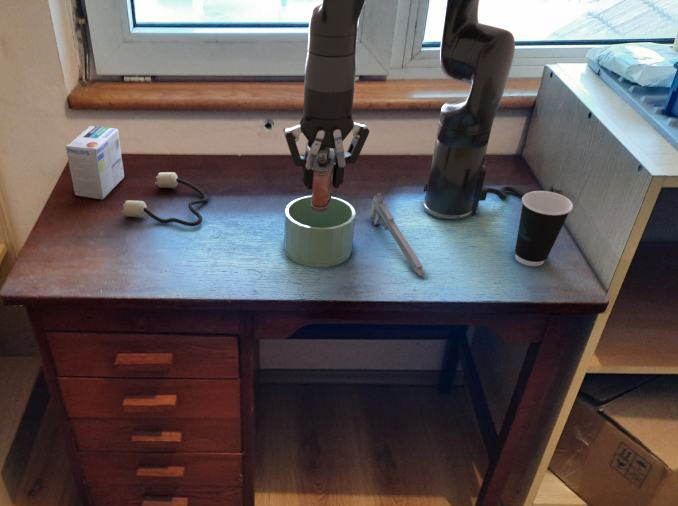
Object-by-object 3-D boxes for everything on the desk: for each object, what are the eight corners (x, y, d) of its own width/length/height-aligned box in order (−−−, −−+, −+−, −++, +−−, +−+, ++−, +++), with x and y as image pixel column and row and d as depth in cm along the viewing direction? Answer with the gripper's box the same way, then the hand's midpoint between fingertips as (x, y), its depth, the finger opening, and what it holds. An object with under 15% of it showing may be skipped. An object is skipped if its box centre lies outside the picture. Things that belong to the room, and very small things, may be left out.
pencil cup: (342, 229, 123) (346, 193, 118) (358, 264, 114) (363, 226, 109) (279, 234, 122) (280, 197, 117) (290, 269, 112) (291, 231, 108)
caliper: (369, 220, 125) (373, 189, 121) (374, 219, 126) (378, 189, 122) (419, 277, 110) (425, 245, 106) (425, 276, 111) (431, 244, 107)
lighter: (328, 213, 108) (333, 155, 102) (308, 211, 109) (311, 154, 102) (333, 191, 114) (337, 135, 108) (313, 189, 115) (317, 134, 108)
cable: (228, 194, 134) (227, 178, 132) (194, 233, 122) (193, 216, 120) (159, 182, 138) (158, 166, 136) (121, 218, 127) (118, 202, 124)
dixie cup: (497, 258, 115) (512, 201, 108) (520, 241, 119) (537, 185, 112) (539, 276, 110) (558, 218, 103) (562, 259, 114) (582, 201, 107)
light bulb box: (97, 173, 141) (88, 124, 135) (125, 177, 140) (119, 127, 133) (73, 196, 134) (63, 145, 127) (104, 200, 132) (95, 149, 125)
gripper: (287, 92, 95) (283, 200, 106) (382, 87, 97) (369, 194, 108) (279, 75, 101) (276, 179, 112) (369, 71, 102) (358, 174, 113)
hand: (322, 186), depth 110 cm, fingers closed on lighter, 4 cm apart
